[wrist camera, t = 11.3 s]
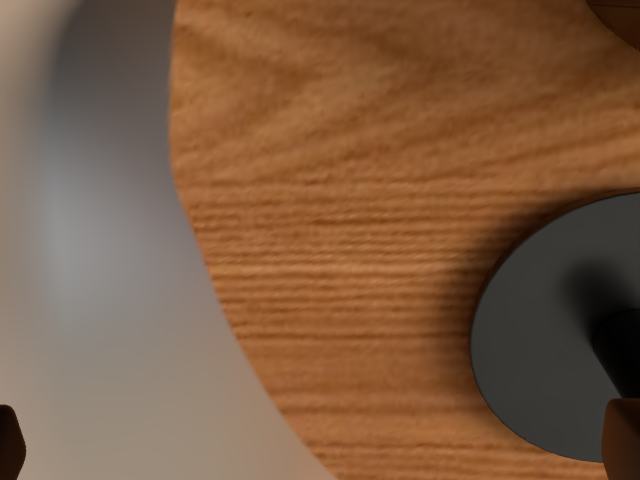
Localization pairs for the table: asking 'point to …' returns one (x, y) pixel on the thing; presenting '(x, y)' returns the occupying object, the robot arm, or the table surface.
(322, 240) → the table surface
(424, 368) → the table surface
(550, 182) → the table surface
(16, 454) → the robot arm
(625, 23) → the pot
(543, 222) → the lid
